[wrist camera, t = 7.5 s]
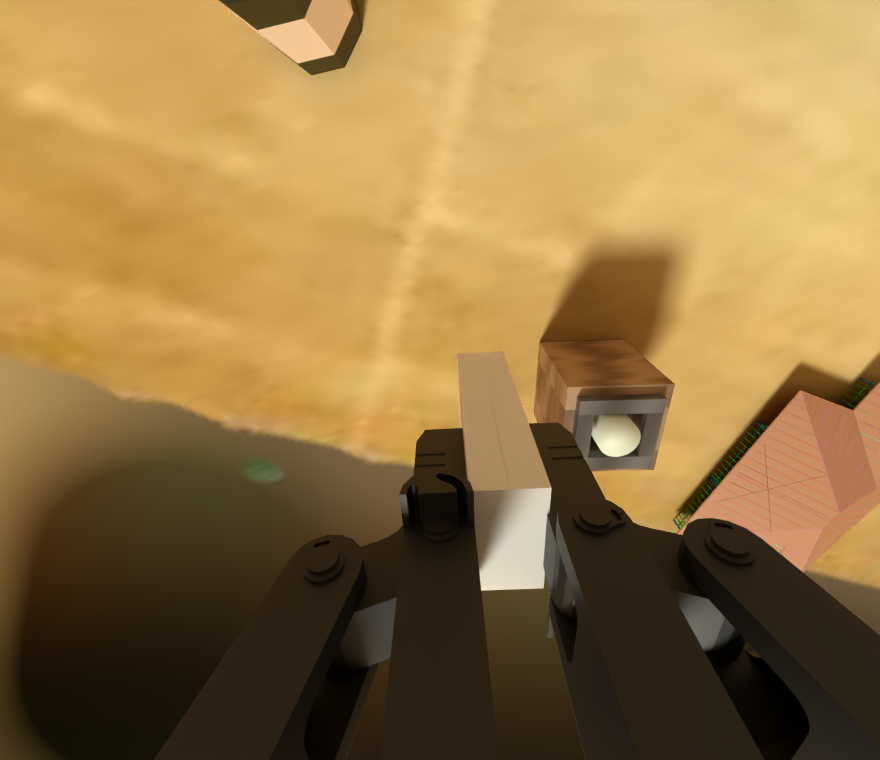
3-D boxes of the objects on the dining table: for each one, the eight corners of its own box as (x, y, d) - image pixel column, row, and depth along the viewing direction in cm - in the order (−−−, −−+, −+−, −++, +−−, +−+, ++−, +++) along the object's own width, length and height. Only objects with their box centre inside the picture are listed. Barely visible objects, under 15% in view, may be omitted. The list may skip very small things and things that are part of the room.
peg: (599, 368, 49) (644, 421, 38) (594, 397, 51) (636, 456, 40) (565, 369, 49) (601, 422, 38) (562, 398, 51) (595, 457, 40)
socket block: (623, 339, 49) (680, 388, 37) (610, 411, 53) (658, 475, 42) (539, 341, 49) (570, 392, 37) (533, 413, 54) (560, 478, 42)
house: (653, 532, 64) (681, 578, 56) (805, 347, 50) (868, 375, 43) (772, 567, 67) (813, 615, 60) (944, 404, 54) (1024, 439, 46)
